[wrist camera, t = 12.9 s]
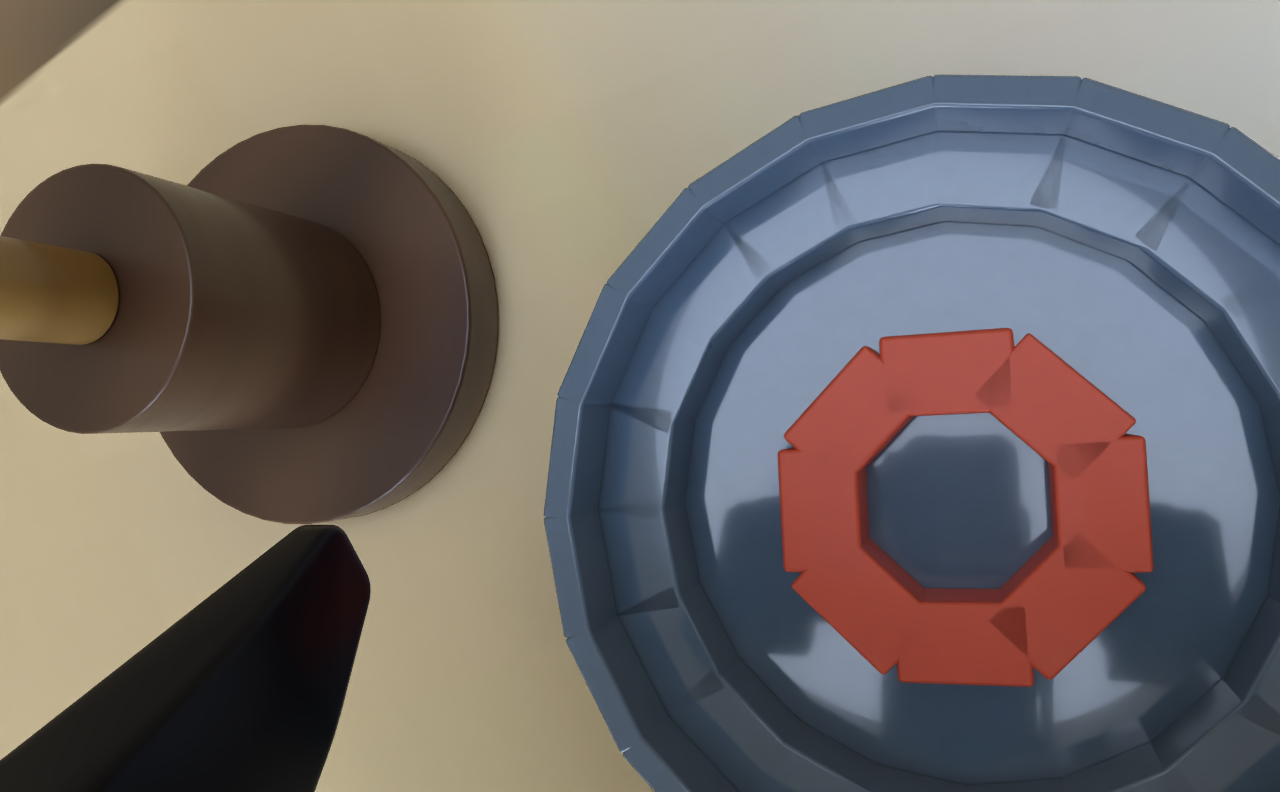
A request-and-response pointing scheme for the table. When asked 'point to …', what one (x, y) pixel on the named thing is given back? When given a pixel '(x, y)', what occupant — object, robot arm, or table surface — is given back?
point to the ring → (1044, 586)
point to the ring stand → (258, 318)
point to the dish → (932, 444)
